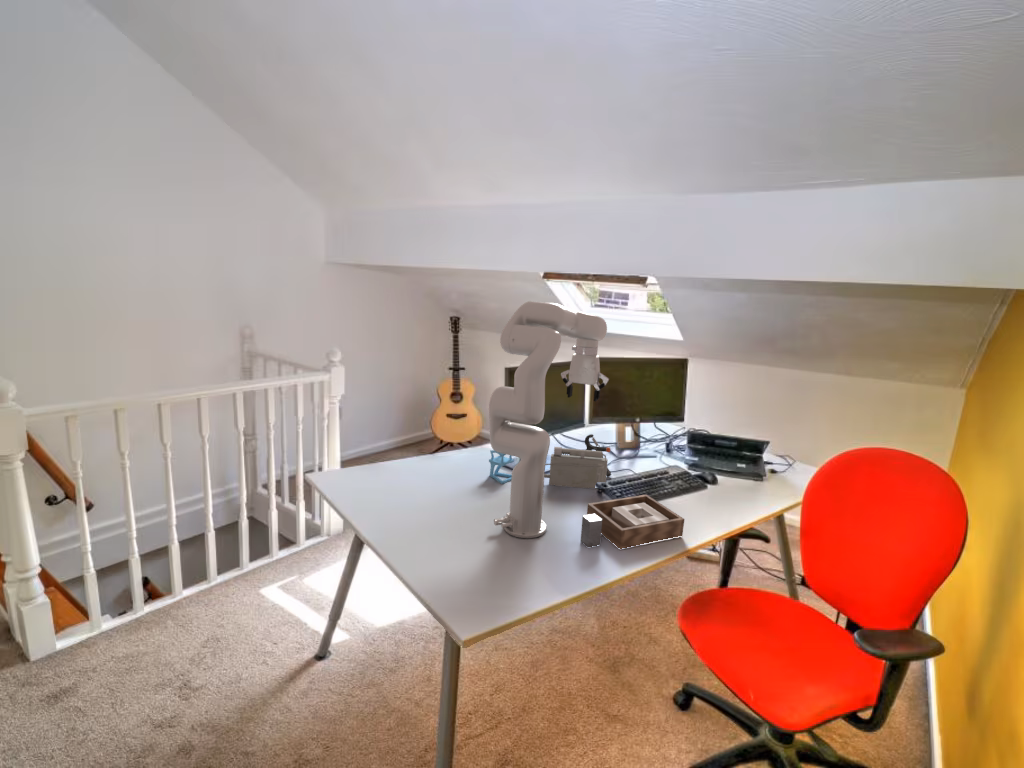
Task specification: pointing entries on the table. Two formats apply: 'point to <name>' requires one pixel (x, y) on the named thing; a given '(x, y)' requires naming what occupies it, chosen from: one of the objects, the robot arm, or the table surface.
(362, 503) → the table surface
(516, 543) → the table surface
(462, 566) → the table surface
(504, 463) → the chair
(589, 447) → the hand grip strengthener
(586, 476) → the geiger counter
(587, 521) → the metal peg
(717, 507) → the table surface
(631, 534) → the walnut box
